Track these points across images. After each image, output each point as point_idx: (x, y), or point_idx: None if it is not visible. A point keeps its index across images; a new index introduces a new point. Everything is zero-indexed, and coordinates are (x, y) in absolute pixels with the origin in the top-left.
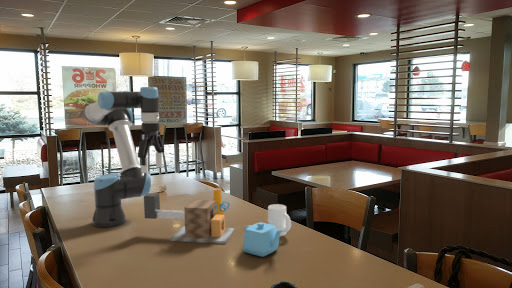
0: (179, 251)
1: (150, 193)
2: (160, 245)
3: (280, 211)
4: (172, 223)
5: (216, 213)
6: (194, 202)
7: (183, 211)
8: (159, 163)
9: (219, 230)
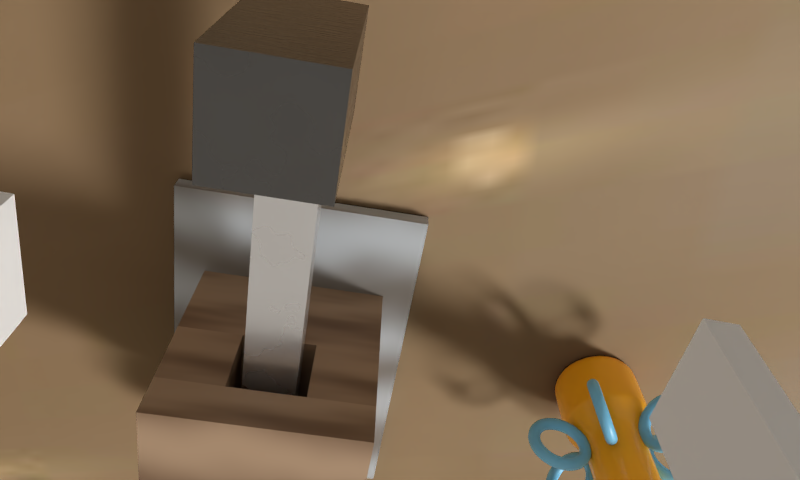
0: (28, 262)
1: (339, 95)
2: (87, 137)
3: None
4: (536, 115)
5: (565, 416)
6: (293, 455)
7: (275, 338)
8: (696, 443)
9: None
